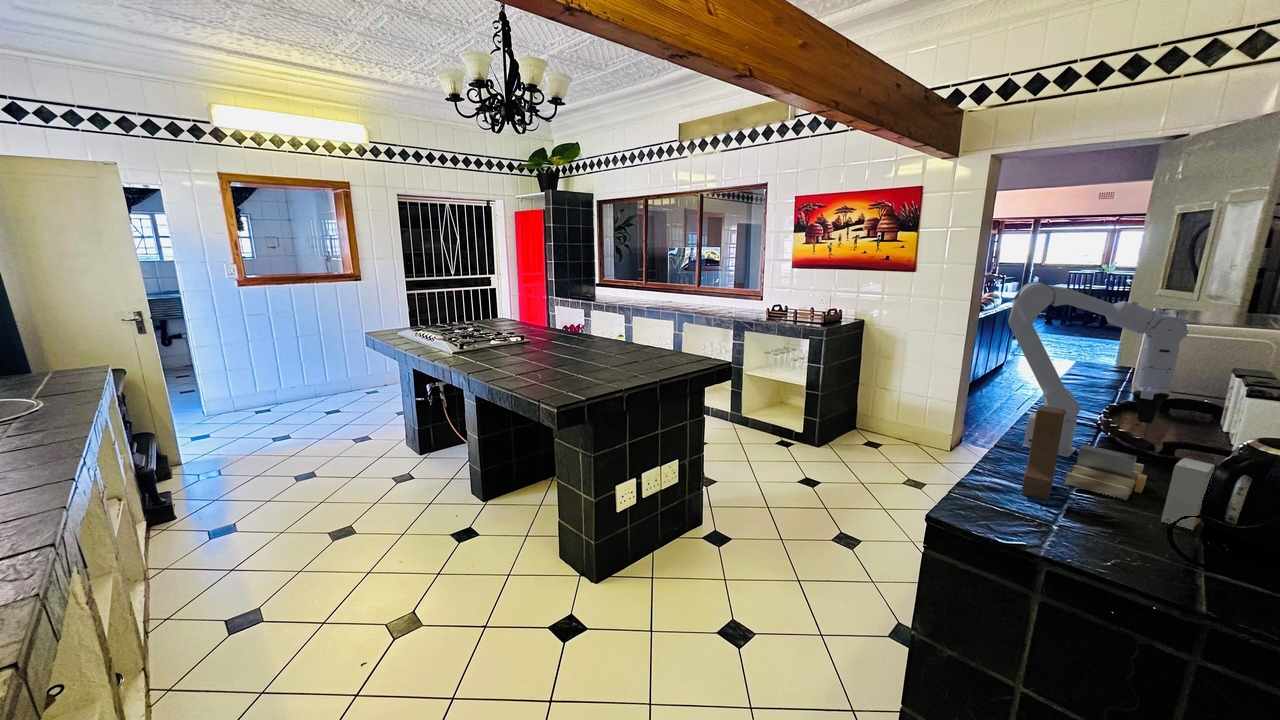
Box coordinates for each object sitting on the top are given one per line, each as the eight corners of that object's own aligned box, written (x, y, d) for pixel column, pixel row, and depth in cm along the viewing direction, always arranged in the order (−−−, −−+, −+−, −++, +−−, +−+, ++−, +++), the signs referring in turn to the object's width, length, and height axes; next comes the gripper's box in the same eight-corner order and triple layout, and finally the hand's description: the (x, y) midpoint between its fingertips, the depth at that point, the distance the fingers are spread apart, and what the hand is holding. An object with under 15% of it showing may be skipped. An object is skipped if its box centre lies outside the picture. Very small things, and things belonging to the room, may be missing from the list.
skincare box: (1192, 532, 90) (1208, 472, 88) (1160, 522, 94) (1173, 464, 91) (1201, 522, 93) (1216, 464, 91) (1169, 513, 97) (1182, 456, 94)
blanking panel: (1075, 471, 114) (1079, 447, 112) (1078, 468, 116) (1082, 444, 114) (1128, 485, 107) (1134, 460, 106) (1131, 481, 109) (1136, 456, 107)
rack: (1064, 483, 110) (1066, 472, 109) (1084, 461, 120) (1086, 451, 120) (1135, 503, 101) (1137, 491, 100) (1149, 477, 112) (1152, 466, 111)
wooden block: (1047, 501, 102) (1062, 419, 98) (1020, 494, 105) (1033, 415, 101) (1051, 486, 109) (1065, 408, 105) (1026, 480, 112) (1038, 404, 108)
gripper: (1178, 375, 107) (1164, 433, 110) (1186, 364, 115) (1173, 419, 118) (1132, 369, 112) (1121, 425, 115) (1143, 360, 121) (1132, 412, 124)
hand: (1144, 422), depth 117 cm, fingers closed
